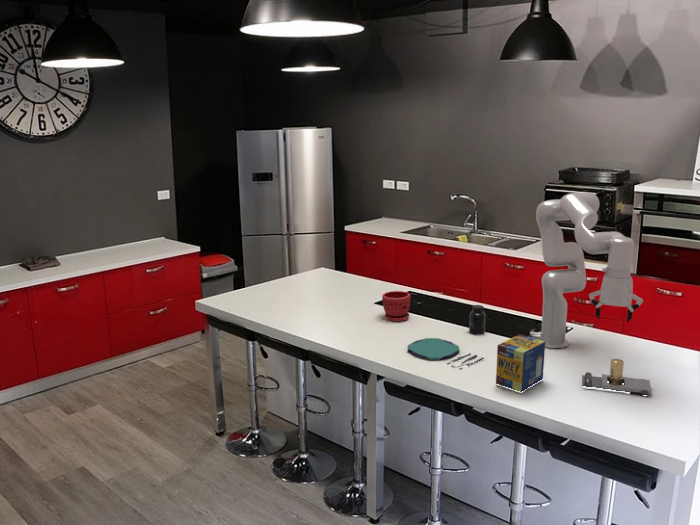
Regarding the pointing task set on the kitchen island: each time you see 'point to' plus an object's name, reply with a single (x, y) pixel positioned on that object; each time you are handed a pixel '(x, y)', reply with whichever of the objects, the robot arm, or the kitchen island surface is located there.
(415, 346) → the cutlery set
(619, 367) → the brass pin
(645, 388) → the hinged hasp latch
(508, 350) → the protein box
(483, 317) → the supplement bottle
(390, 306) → the plant pot
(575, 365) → the kitchen island surface
